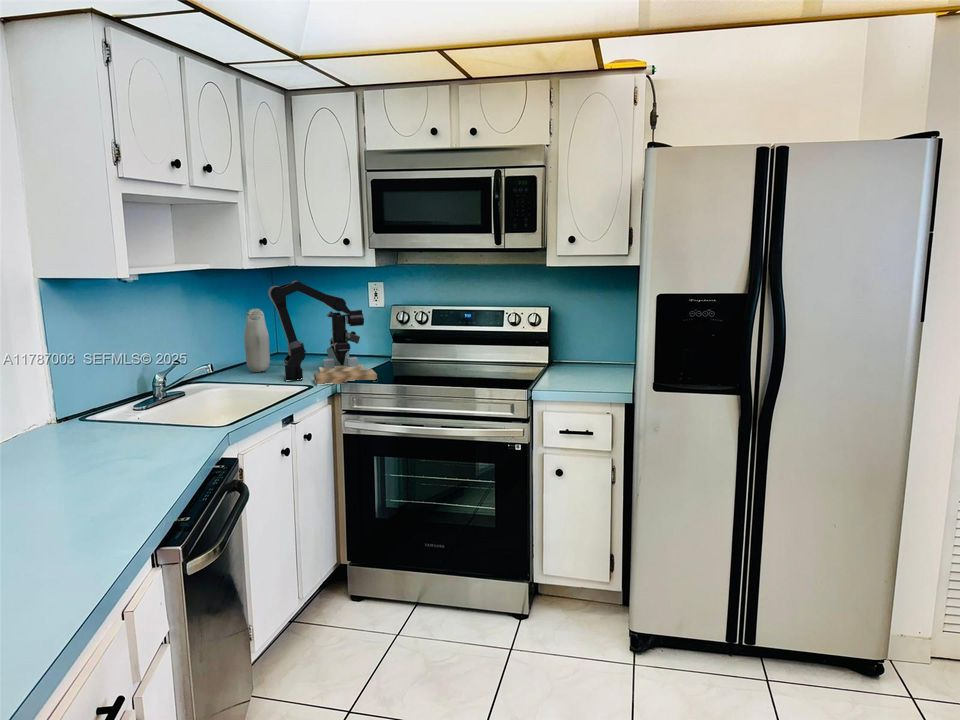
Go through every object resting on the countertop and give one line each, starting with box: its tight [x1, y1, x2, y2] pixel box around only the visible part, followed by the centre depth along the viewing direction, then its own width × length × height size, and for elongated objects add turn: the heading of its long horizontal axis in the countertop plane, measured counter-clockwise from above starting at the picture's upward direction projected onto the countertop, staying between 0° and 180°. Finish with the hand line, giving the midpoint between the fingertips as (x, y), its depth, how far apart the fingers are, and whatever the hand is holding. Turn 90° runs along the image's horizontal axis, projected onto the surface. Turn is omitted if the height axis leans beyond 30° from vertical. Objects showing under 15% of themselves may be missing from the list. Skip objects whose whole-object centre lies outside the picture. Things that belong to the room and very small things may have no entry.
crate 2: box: [346, 356, 359, 367], centre depth 295 cm, size 4×4×4 cm
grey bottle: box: [243, 308, 271, 373], centre depth 302 cm, size 10×10×28 cm
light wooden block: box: [318, 364, 364, 373], centre depth 295 cm, size 18×6×4 cm, turn 109°
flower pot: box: [326, 345, 351, 366], centre depth 315 cm, size 9×9×9 cm
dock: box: [313, 368, 378, 386], centre depth 283 cm, size 24×11×3 cm, turn 109°
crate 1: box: [322, 358, 335, 369], centre depth 292 cm, size 4×4×4 cm
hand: (340, 363), depth 294 cm, fingers open, 9 cm apart
